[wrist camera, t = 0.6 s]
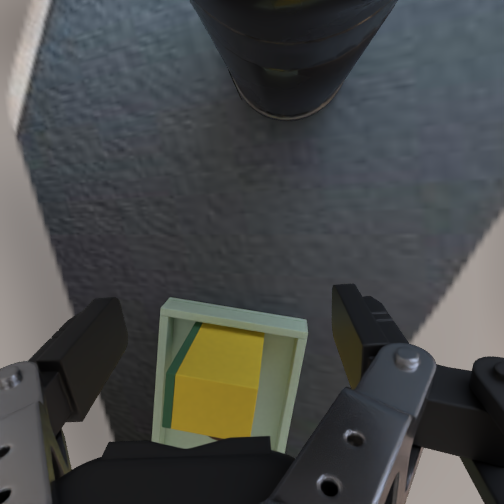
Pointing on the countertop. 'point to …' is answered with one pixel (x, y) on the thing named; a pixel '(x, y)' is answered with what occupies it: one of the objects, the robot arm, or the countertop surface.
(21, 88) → the countertop surface
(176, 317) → the tray
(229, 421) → the sponge
